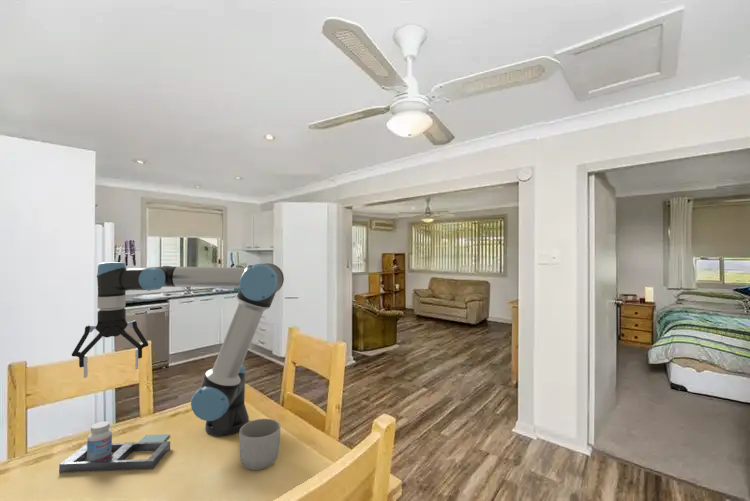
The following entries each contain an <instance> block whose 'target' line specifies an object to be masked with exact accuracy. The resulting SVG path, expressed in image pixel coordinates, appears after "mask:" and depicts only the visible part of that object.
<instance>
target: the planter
mask: <svg viewBox="0 0 750 501" xmlns="http://www.w3.org/2000/svg"><path fill="white" fill-rule="evenodd" d="M238 434H239V436H238V437H239V438H238V439H239V442H238V443H239V445H238V446H239V459H240V460H239V461H240V464H241V465H242V467H243V468H244V469H247V470H250V471H261V470H265V469H267V468H269V467H271V466H272V465H273V464H274V463H275V462H276V460H277V459H278V456H279V452H280V443H281V442H280V441H281V424H280V422H279V421H278V420H276V419H272V418H257V419H254V420H249V422H248V423H246V424H244V425H243V426H242V427H241V428H240V430H239V432H238Z"/></svg>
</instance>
